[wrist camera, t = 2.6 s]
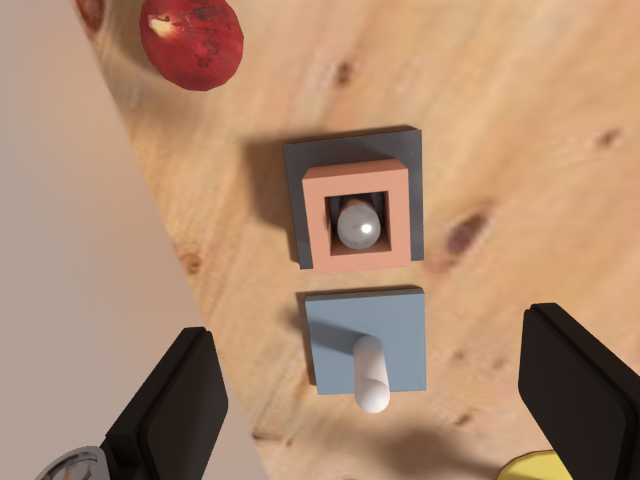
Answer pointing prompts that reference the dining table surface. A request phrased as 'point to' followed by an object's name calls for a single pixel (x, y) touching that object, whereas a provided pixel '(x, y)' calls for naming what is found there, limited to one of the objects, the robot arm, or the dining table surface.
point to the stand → (363, 208)
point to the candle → (536, 468)
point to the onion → (192, 41)
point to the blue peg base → (368, 344)
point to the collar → (354, 180)
